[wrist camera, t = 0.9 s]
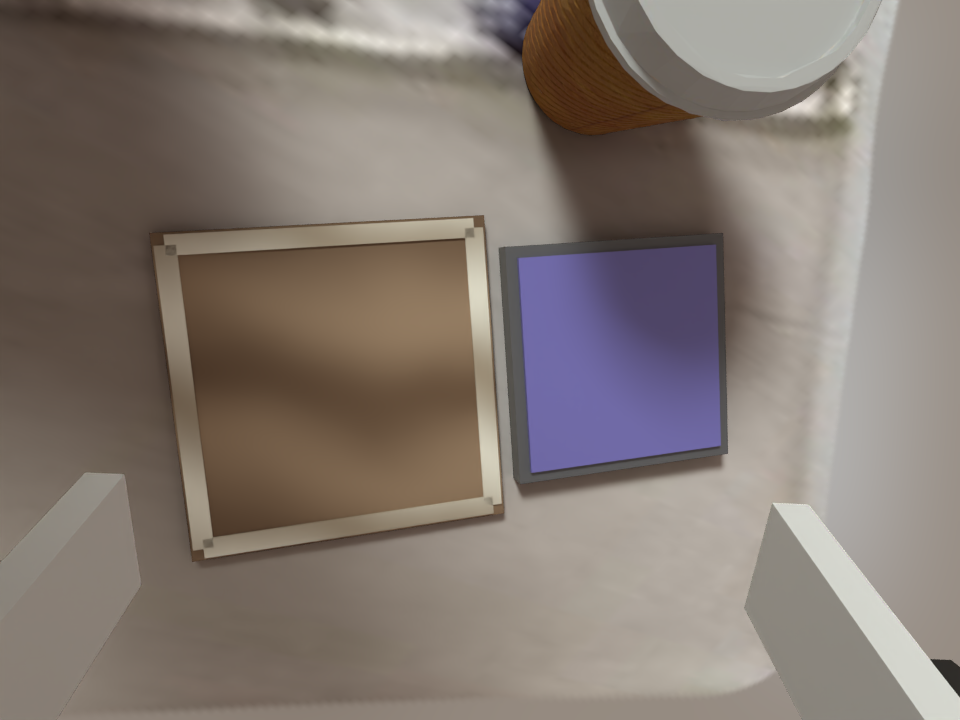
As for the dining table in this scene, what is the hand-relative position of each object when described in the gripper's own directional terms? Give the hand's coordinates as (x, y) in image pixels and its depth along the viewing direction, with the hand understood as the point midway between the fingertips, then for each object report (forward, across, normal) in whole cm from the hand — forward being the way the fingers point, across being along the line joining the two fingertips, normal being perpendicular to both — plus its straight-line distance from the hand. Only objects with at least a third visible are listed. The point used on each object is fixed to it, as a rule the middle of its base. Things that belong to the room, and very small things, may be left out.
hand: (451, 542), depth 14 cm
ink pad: (+18, +7, -3) cm, 20 cm away
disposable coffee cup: (+22, +5, +10) cm, 24 cm away
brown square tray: (+15, -5, -4) cm, 16 cm away
